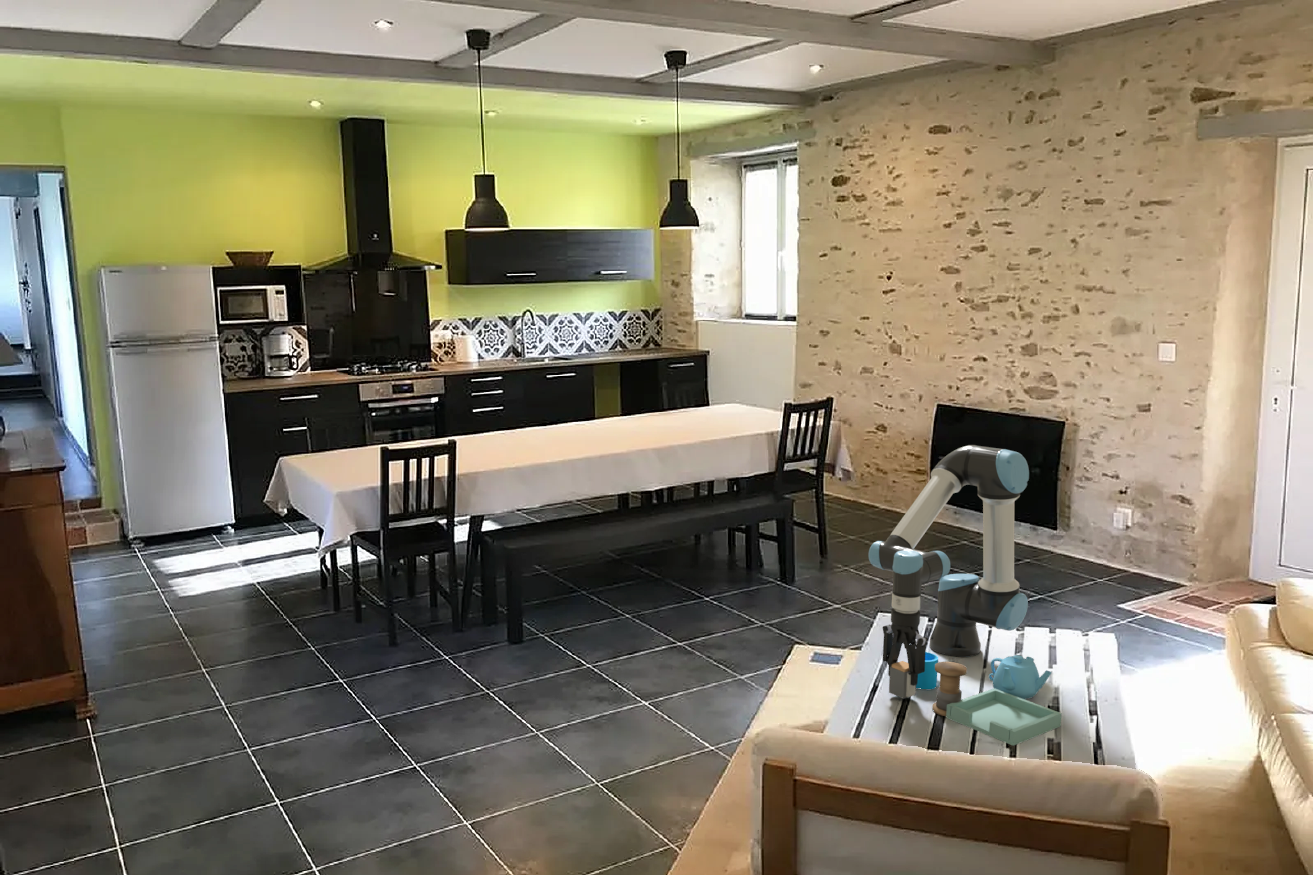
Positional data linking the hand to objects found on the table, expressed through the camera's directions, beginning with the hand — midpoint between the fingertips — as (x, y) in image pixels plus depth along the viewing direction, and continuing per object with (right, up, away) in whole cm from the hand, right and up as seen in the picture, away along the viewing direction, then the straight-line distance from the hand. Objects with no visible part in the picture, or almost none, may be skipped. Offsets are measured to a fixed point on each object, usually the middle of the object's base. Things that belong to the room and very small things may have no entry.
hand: (902, 692), depth 282 cm
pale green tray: (+23, -4, -14) cm, 27 cm away
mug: (+9, 0, +12) cm, 15 cm away
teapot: (+32, -2, +3) cm, 32 cm away
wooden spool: (+10, -3, -8) cm, 13 cm away
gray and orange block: (0, 0, 0) cm, 0 cm away
